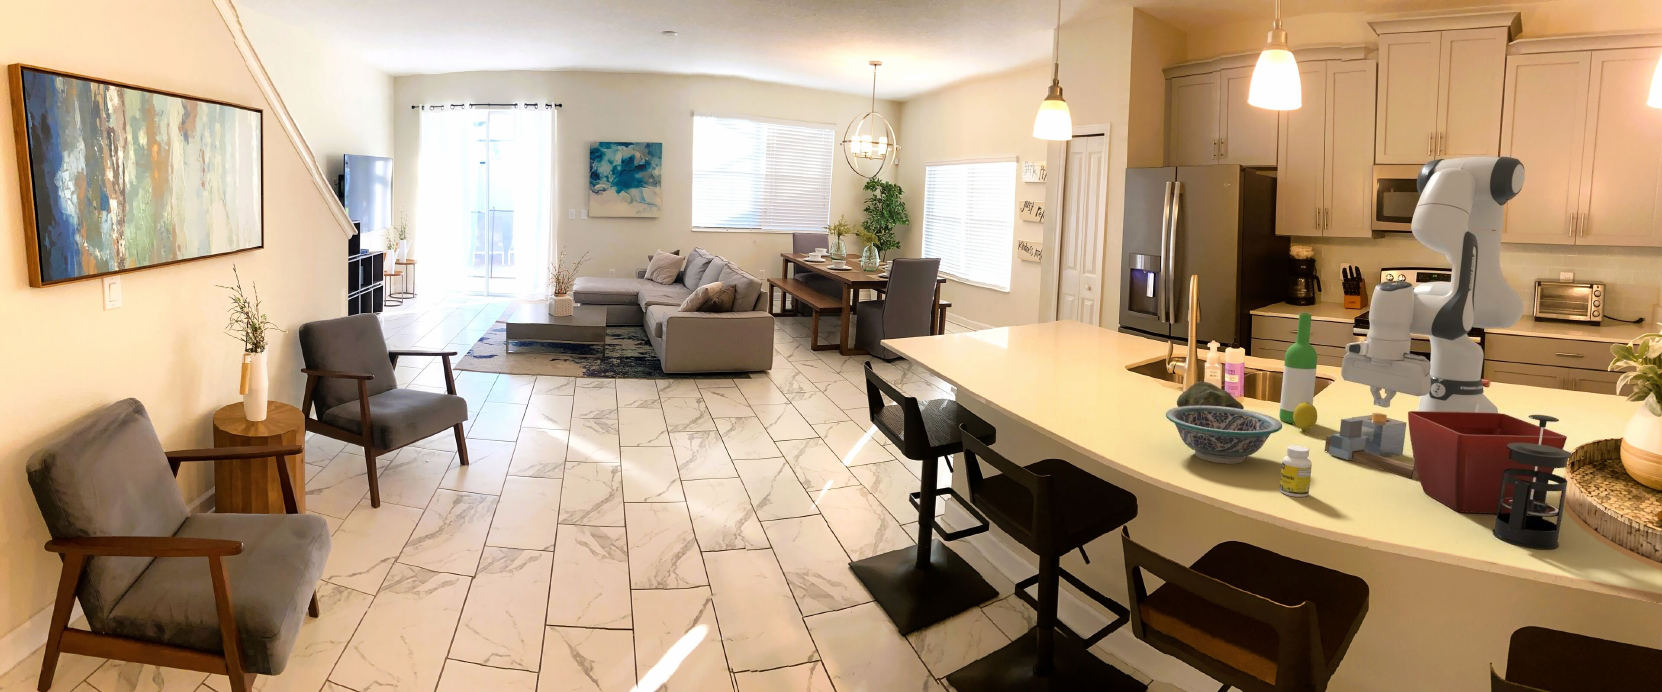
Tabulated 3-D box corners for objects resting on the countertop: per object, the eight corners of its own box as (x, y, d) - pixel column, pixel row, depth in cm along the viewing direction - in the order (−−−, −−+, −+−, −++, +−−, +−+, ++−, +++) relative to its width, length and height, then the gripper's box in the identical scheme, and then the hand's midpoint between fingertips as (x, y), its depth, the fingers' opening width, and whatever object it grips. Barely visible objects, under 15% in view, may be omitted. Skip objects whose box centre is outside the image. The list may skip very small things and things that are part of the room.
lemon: (1318, 434, 223) (1322, 404, 222) (1295, 433, 224) (1298, 403, 223) (1311, 428, 228) (1314, 399, 227) (1289, 427, 230) (1292, 398, 228)
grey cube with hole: (1371, 445, 213) (1375, 414, 212) (1402, 454, 206) (1406, 422, 204) (1347, 449, 210) (1351, 417, 209) (1378, 458, 203) (1382, 425, 201)
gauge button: (1375, 432, 209) (1378, 412, 208) (1387, 435, 206) (1389, 415, 206) (1367, 433, 208) (1369, 413, 207) (1378, 436, 205) (1381, 416, 204)
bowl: (1269, 447, 211) (1273, 410, 209) (1286, 479, 188) (1291, 436, 186) (1161, 438, 219) (1164, 401, 217) (1164, 466, 196) (1167, 426, 194)
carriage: (1347, 451, 207) (1351, 416, 206) (1367, 457, 203) (1371, 421, 201) (1328, 454, 205) (1332, 418, 203) (1347, 459, 200) (1351, 423, 199)
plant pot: (1396, 485, 184) (1405, 409, 181) (1491, 489, 182) (1502, 412, 179) (1450, 518, 165) (1461, 434, 162) (1557, 523, 163) (1570, 437, 160)
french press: (1505, 525, 162) (1523, 406, 158) (1568, 541, 154) (1588, 417, 150) (1480, 538, 155) (1497, 415, 151) (1544, 556, 148) (1564, 427, 144)
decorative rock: (1216, 408, 250) (1219, 375, 248) (1249, 422, 235) (1252, 387, 233) (1168, 410, 248) (1171, 376, 246) (1198, 424, 233) (1201, 388, 231)
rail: (1333, 450, 209) (1335, 434, 208) (1426, 478, 188) (1429, 461, 187) (1324, 451, 208) (1326, 435, 207) (1417, 480, 187) (1419, 462, 186)
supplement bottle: (1273, 489, 181) (1278, 444, 179) (1298, 488, 181) (1302, 444, 180) (1289, 498, 176) (1294, 452, 174) (1314, 497, 176) (1319, 451, 174)
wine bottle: (1293, 426, 231) (1304, 316, 226) (1272, 418, 239) (1282, 312, 233) (1317, 424, 233) (1329, 315, 228) (1295, 417, 240) (1306, 311, 235)
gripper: (1440, 356, 195) (1433, 415, 198) (1357, 342, 214) (1352, 395, 217) (1421, 358, 193) (1415, 418, 196) (1339, 344, 212) (1334, 398, 214)
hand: (1381, 406), depth 206 cm, fingers closed
